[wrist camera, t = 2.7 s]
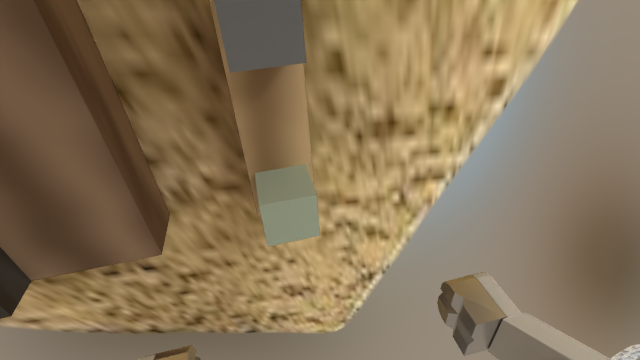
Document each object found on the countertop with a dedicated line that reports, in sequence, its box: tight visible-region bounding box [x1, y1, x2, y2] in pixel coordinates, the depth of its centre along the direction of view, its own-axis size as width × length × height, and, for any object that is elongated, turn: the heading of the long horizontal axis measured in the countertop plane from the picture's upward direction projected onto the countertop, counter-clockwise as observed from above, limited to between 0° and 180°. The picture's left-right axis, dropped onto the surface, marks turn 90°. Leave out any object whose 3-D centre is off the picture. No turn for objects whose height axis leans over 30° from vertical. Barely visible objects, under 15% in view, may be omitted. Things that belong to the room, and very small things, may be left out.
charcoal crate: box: [214, 0, 306, 73], centre depth 18 cm, size 4×4×4 cm
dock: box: [0, 0, 170, 318], centre depth 21 cm, size 11×20×8 cm, turn 4°
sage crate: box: [255, 164, 320, 246], centre depth 25 cm, size 4×4×4 cm
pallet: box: [209, 0, 314, 217], centre depth 25 cm, size 5×18×4 cm, turn 4°
